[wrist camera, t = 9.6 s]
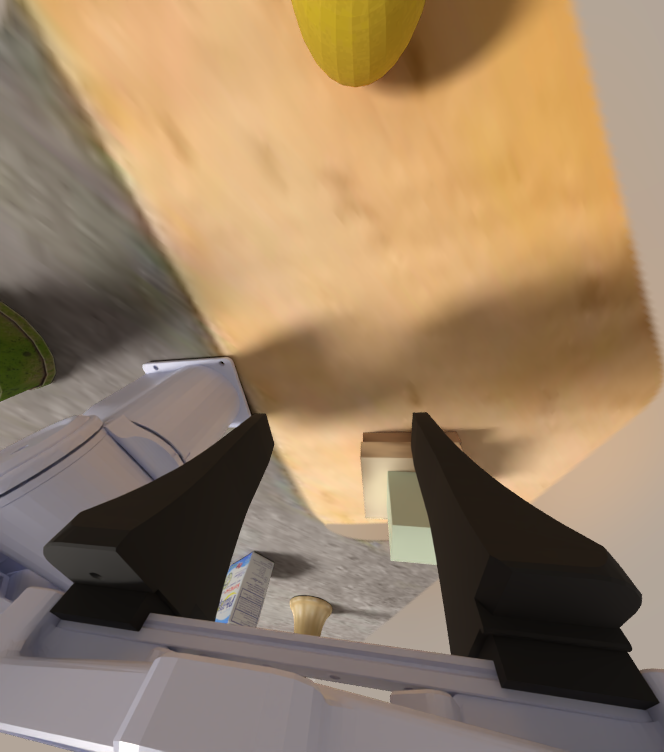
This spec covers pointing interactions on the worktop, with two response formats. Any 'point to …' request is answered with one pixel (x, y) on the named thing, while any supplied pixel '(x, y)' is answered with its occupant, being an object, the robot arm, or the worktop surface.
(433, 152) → the worktop surface
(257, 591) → the medicine box
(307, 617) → the hand bell
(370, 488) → the slab top
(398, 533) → the cube
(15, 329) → the lantern
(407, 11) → the lemon
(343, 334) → the worktop surface
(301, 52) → the worktop surface
